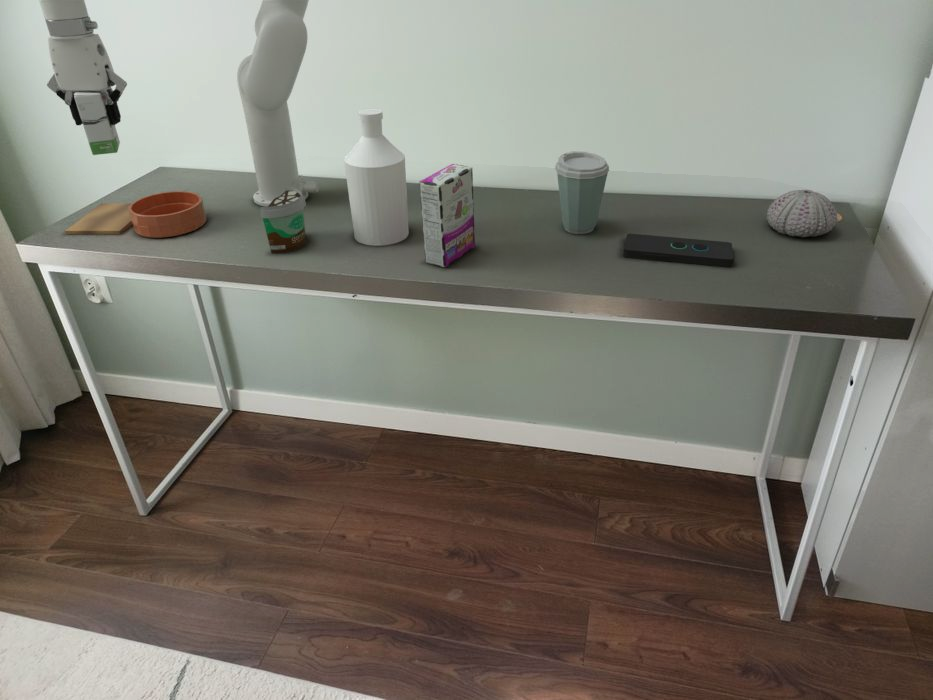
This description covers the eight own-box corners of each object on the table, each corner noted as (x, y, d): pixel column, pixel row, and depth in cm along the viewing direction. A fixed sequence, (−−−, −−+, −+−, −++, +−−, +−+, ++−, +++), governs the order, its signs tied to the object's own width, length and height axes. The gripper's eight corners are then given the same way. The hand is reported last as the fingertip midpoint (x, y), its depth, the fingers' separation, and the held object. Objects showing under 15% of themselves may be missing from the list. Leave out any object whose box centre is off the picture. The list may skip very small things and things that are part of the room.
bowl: (216, 212, 158) (211, 191, 155) (191, 238, 146) (185, 216, 143) (152, 212, 159) (146, 191, 156) (122, 238, 146) (115, 216, 144)
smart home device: (733, 259, 128) (623, 249, 133) (732, 267, 129) (622, 257, 134) (732, 241, 135) (627, 232, 140) (730, 249, 136) (626, 240, 141)
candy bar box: (454, 242, 142) (451, 162, 133) (475, 247, 139) (474, 166, 130) (423, 263, 134) (417, 180, 125) (444, 269, 131) (441, 184, 122)
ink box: (117, 153, 143) (100, 93, 137) (91, 156, 142) (72, 95, 135) (120, 141, 150) (104, 84, 144) (95, 144, 149) (77, 86, 142)
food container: (297, 258, 137) (289, 209, 131) (268, 256, 138) (258, 208, 132) (320, 233, 147) (313, 187, 141) (293, 231, 148) (285, 185, 142)
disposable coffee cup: (613, 227, 146) (620, 156, 138) (584, 243, 140) (589, 170, 131) (572, 215, 152) (576, 146, 144) (542, 230, 146) (544, 159, 138)
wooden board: (152, 206, 162) (151, 203, 161) (120, 234, 148) (119, 230, 148) (102, 206, 163) (101, 203, 162) (66, 234, 149) (64, 230, 149)
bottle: (379, 251, 139) (366, 123, 125) (341, 235, 145) (325, 113, 132) (421, 233, 146) (414, 110, 132) (383, 219, 153) (373, 100, 139)
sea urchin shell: (760, 236, 141) (768, 198, 137) (767, 212, 151) (775, 176, 147) (832, 246, 136) (843, 207, 132) (834, 222, 146) (844, 185, 142)
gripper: (123, 24, 136) (147, 118, 146) (37, 25, 137) (67, 119, 147) (105, 30, 130) (131, 128, 139) (14, 32, 131) (47, 128, 140)
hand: (98, 122), depth 143 cm, fingers closed on ink box, 6 cm apart
